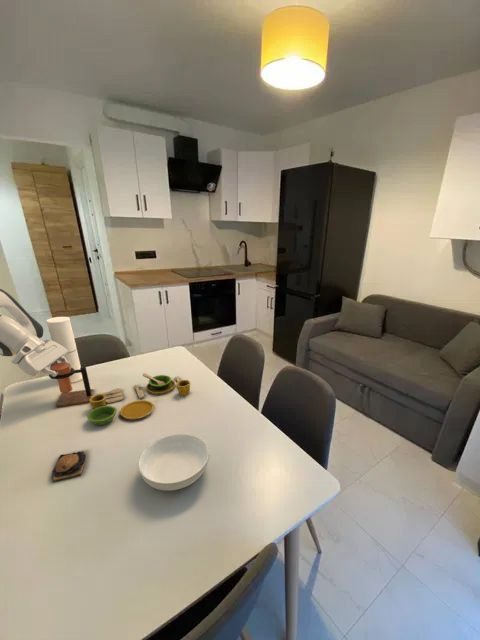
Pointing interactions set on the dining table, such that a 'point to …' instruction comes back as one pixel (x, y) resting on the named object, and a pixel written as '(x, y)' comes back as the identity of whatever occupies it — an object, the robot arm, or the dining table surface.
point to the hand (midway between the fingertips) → (62, 370)
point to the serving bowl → (173, 461)
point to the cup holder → (75, 396)
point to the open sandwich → (69, 465)
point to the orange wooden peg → (63, 369)
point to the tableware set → (137, 408)
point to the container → (65, 342)
